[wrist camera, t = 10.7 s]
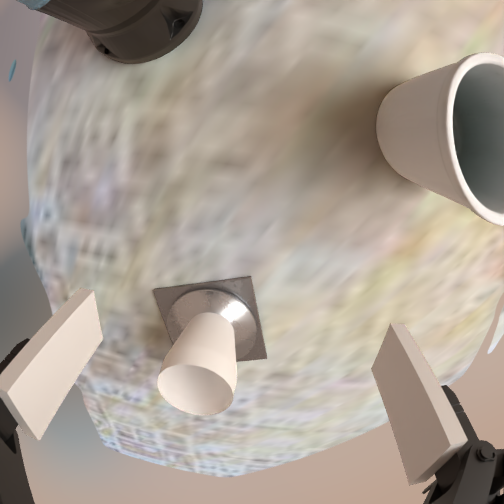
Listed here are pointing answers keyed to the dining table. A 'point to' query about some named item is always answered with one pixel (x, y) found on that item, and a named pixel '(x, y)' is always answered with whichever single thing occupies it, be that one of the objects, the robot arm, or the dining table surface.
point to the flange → (216, 311)
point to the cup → (201, 367)
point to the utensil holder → (450, 132)
